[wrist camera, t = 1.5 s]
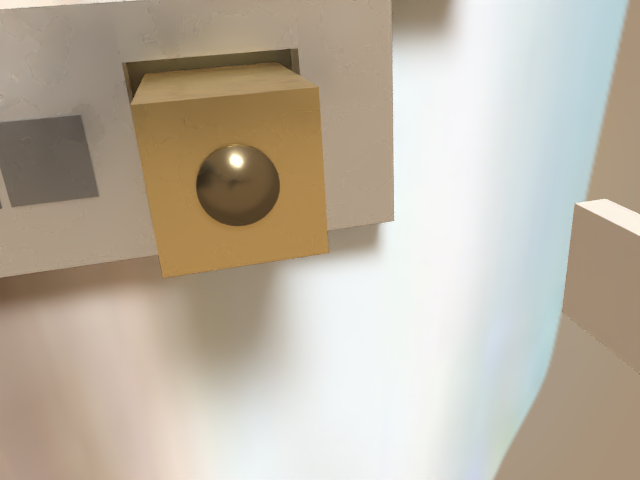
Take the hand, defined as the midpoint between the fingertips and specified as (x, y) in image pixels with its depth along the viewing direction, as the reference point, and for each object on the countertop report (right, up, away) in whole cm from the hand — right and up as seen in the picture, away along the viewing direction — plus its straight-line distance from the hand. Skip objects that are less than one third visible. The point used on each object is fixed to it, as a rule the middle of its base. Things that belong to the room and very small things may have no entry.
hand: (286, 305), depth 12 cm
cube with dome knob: (-4, +6, +16) cm, 18 cm away
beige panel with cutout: (-7, +6, +15) cm, 18 cm away
